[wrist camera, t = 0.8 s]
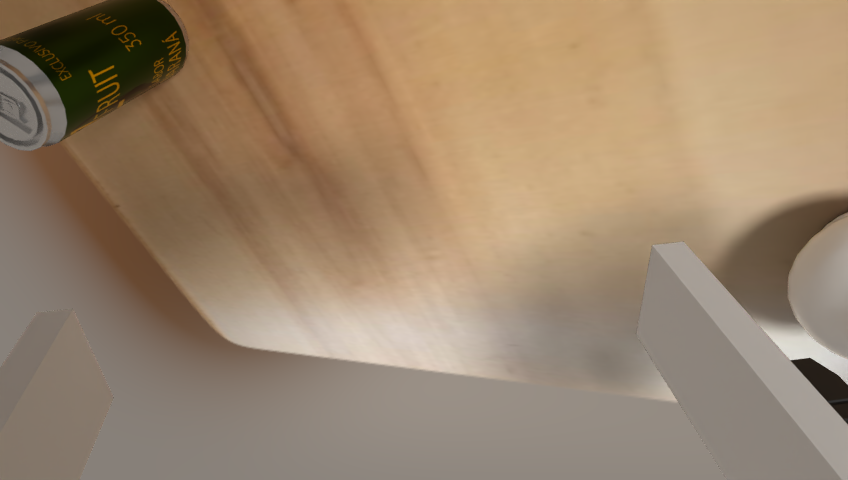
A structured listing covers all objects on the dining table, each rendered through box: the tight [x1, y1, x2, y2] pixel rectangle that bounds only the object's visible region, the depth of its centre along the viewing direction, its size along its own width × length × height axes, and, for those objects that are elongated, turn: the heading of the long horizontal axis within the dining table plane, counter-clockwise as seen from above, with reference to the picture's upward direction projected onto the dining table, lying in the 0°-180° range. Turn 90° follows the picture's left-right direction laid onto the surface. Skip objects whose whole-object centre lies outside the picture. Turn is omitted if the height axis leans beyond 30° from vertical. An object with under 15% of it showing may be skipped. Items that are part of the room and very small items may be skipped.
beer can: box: [0, 0, 188, 151], centre depth 35 cm, size 5×5×12 cm
